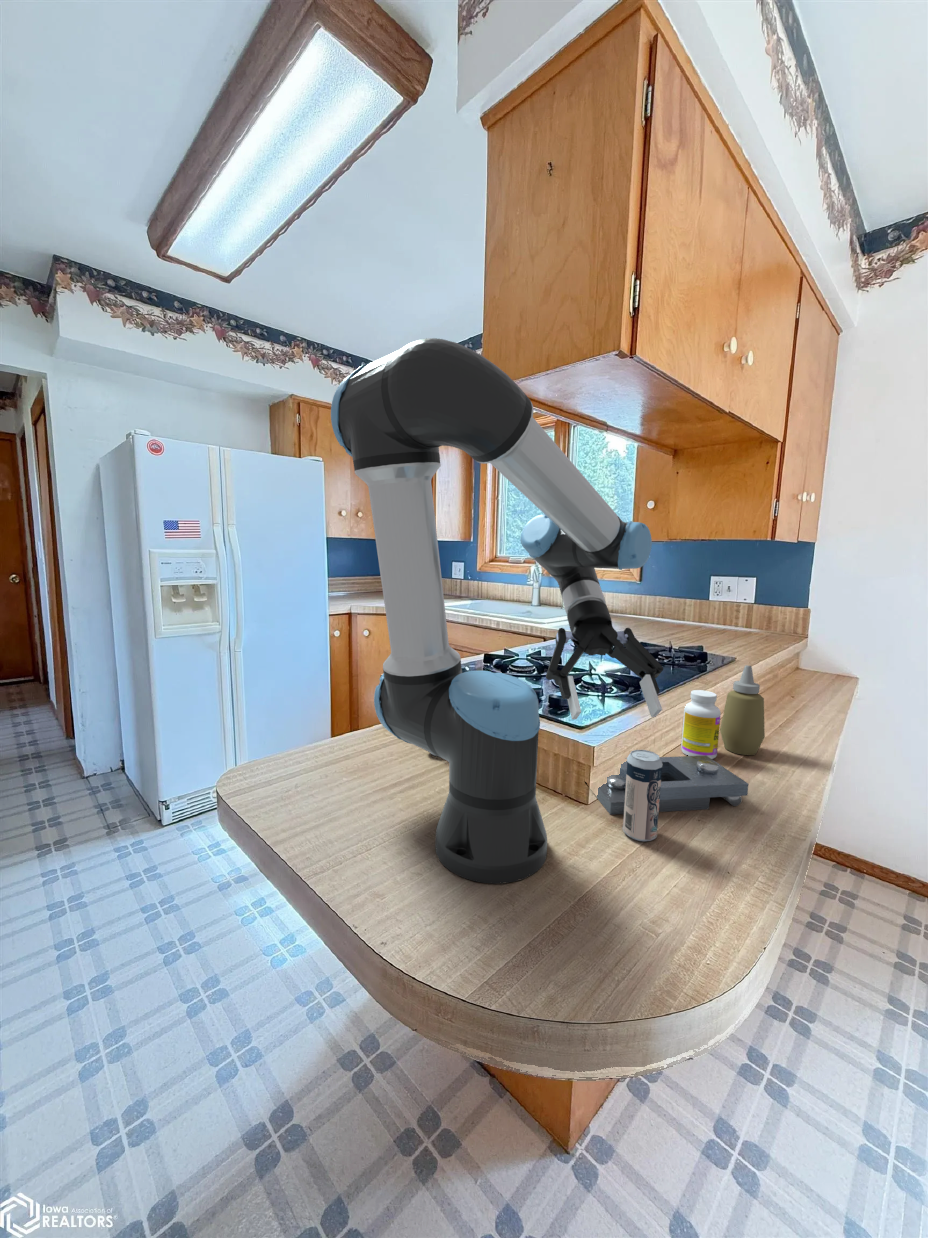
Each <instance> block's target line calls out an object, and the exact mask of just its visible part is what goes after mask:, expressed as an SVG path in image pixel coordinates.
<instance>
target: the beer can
mask: <svg viewBox="0 0 928 1238" xmlns="http://www.w3.org/2000/svg"><path fill="white" fill-rule="evenodd" d="M660 757H661V756H660V754H657V753H656V752H654V751H650V750H647V749H634V750H631V751H630V753H629V754H628V756H627V757H626V759H627V774H626V789H625V805H624V814H623V823H622V831H623V833H624V834H625V835H627V836H628V837H629V838H631V839H632V840H635V841H637V842H638V841H639V842H651V841H653V840H655V839H656V838H657V837H658V825H659V824H658V823H659V813H660V812H659V800H660V787H661V774H662V765H663V764H662V762H661V760H660Z"/></svg>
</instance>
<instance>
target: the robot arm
mask: <svg viewBox="0 0 928 1238" xmlns="http://www.w3.org/2000/svg"><path fill="white" fill-rule="evenodd" d="M330 422H331V428H332V430H333V434H334V436H335V439H336V441H337V442H338V444H339V446H341V447H342V448H343V449H344V450H345V453H347V455H349V456H350V457H352V462H353V469H354V474H355V476H357V477H358V478H359V479H360V480H361V481H362V482H364V484H366V485H367V489H368V495H369V501H370V502H369V503H370V508H371V510H370V511H371V516H372V524H373V530H374V539H375V544H376V545H375V546H376V552H377V558H378V567H379V573H380V575H379V576H380V581H381V587H382V589H381V590H382V595H383V603H384V610H385V616H386V624H387V625H386V626H387V630H388V631H387V632H388V639H389V645H390V654H389V655H388V657H387V658H386V659H385V660H384V662H382V663H383V664H382V670H383V673H382V675H381V676H380V677H379V683H378V685H376V686H375V689H374V695H373V703H374V710H375V715H376V717H377V718H378V721H379V723H380V724H381V725H382V726H383V728H384V729H385V730H387V731H388V732H389V733H390V734H392V735H393V736H394V737H395V738H397V739H398V740H402V741H403V742H404V743H407V744H411V745H414V746H416V747H417V748H419V749H422V750H424V751H427V752H428V753H432V754H434V755H436V756H435V757H439V758H441V759H443V760H445V761H447V762H448V765H449V767H448V768H449V769H448V770H449V771H448V772H449V773H448V775H449V776H448V779H449V780H448V785H449V786H448V794H447V797H446V800H445V802H444V806H443V809H442V811H441V813H440V817H439V820H438V822H437V826H436V828H435V829H436V830H435V842H434V843H435V853H436V856H437V858H438V860H439V861H440V863H441V864H442V865H443V866H444V867H445V868H446V869H447V870H448V871H450V872H451V873H454V875H457V876H459V877H460V878H463V879H466V880H469V881H473V882H476V883H477V882H478V883H482V884H483V883H484V884H507V883H513V882H517V881H521V880H524V879H526V878H528V877H530V876H533V874H535V873H537V872H538V871H539V870H540V869H541V868H542V867H543V865H544V864H545V862H546V859H547V855H548V854H547V853H548V835H547V830H546V827H545V824H544V819H543V816H542V814H541V810H540V806H539V803H538V801H537V797H536V795H537V794H536V793H537V772H538V754H539V753H538V752H539V751H538V750H539V733H540V732H539V731H540V727H541V721H540V715H539V711H540V710H539V699H538V695H537V693H536V691H535V690H534V688H533V687H532V686H531V685H530V684H529V683H527V682H526V681H524V680H522V679H520V678H518V677H516V676H513V675H511V674H507V673H502V672H497V671H496V672H492V671H490V670H489V671H488V670H468V671H465V672H463V669H462V660H461V659H462V658H461V654H460V653H459V652H458V651H457V650H455V649H454V648H452V646H450V642H449V634H448V625H447V616H446V615H447V614H446V605H445V598H444V597H445V596H444V587H443V577H442V570H441V559H440V551H439V543H438V542H439V541H438V533H437V532H438V531H437V521H436V514H435V504H434V493H433V487H432V479H433V477H434V475H435V474H436V473H437V472H438V470H439V469H440V467H441V465H442V464H441V455H440V447H442V446H443V447H451V448H455V449H459V450H461V451H462V452H465V453H466V454H467V455H469V457H471V458H472V459H473V460H474V461H475V462H476V463H479V464H483V465H484V464H485V465H486V464H491V466H492V467H494V468H495V469H496V470H497V471H498V472H499V473H500V474H501V475H502V476H503V477H504V478H506V480H507V481H508V482H510V483H511V484H512V485H513V486H514V487H515V488H516V489H517V490H518V491H519V492H520V493H521V494H522V495H523V496H525V498H527V500H529V501H530V502H531V503H532V504H533V505H534V506H535V507H536V508H537V509H538V510H539V511H541V513H542V514H537V515H535V516H533V517H532V518H530V519H529V520H528V521H527V522H526V523H525V525H524V526H523V528H522V531H521V533H520V536H519V537H520V544H521V546H522V547H523V549H524V550H525V551H526V552H527V553H528V555H529V557H530V558H532V559H533V560H534V561H535V562H536V563H538V564H539V565H540V566H541V567H542V568H543V569H544V570H545V571H546V572H547V573H548V574H549V575H550V576H551V577H552V578H553V579H554V580H555V581H556V582H557V585H558V588H559V591H560V594H561V598H562V603H563V607H564V611H565V614H566V618H567V622H568V626H569V631H567V630H566V629H565V628H564V627H559V628H558V630H557V633H556V635H555V637H554V638H555V648H554V650H553V654H552V657H551V660H550V662H549V665H548V669H547V671H546V674H545V679H546V680H547V681H551V680H553V681H555V684H556V685H557V686H558V687H559V691H560V695H561V698H562V700H564V699H565V700H567V704H568V709H569V712H570V716H571V720H578V718H579V716H580V715H581V713H582V709H581V705H580V700H579V696H578V692H577V689H576V685H575V682H574V681H575V680H574V677H573V675H570V673H571V671H572V670H573V668H574V667H575V666H576V664H577V662H578V661H579V660H580V659H581V657H582V656H583V654H584V653H585V654H586V655H588V656H595V655H598V656H606V655H607V656H609V657H610V658H611V659H616V660H617V661H618V662H619V663H621V664H622V665H623V666H625V668H627V669H628V670H629V671H631V672H632V673H633V674H635V675H636V676H638V677H639V678H640V679H641V680H640V681H639V685H640V688H641V692H642V694H643V697H644V700H645V703H646V706H647V709H648V712H649V715H650V717H651V718H656V717H657V716H658V715H659V714H660V713H661V712H662V711H663V708H662V704H661V701H660V699H659V696H658V695H659V694H660V692H661V691H660V687H659V684H658V682H657V678H658V677H659V675H660V674H662V672H663V671H664V667H663V665H662V664H660V662H659V661H658V660H657V659H656V658H655V657H654V656H653V655H652V654H651V653H650V652H649V650H648V649H647V648H646V647H644V646H643V644H642V643H641V642H640V641H639V640H638V639H637V638H636V636H635V634H634V633H633V630H632V629H631V628H630V627H625V629H624V630H619V631H617V630H616V629H615V628H614V627H613V622H612V617H611V613H610V612H609V608H608V605H607V602H606V599H605V597H604V593H603V590H602V588H601V585H600V581H599V577H598V575H597V573H596V569H612V570H620V571H622V570H630V569H631V570H632V569H633V570H636V569H640V568H642V567H644V565H645V564H646V563H647V562H648V561H649V558H650V555H651V551H652V544H653V543H652V533H651V531H650V529H649V527H648V526H647V524H646V523H643V522H640V521H632V520H629V521H626V522H625V521H623V520H622V519H621V518H620V516H619V515H618V514H617V513H616V512H615V511H614V510H613V509H612V507H611V506H610V505H609V504H608V502H607V501H605V499H604V498H603V497H602V496H601V495H600V493H599V492H598V491H597V490H596V489H595V487H594V486H593V485H592V484H591V483H590V481H589V480H588V479H587V478H586V477H585V476H584V475H583V474H582V473H581V471H580V470H579V469H578V467H576V466H575V464H574V463H573V462H572V461H571V460H570V458H569V457H568V456H567V455H566V454H565V452H564V451H563V450H561V448H560V447H559V445H558V444H557V443H556V442H555V441H554V440H553V438H551V437H550V435H549V434H548V433H547V432H546V431H545V429H544V428H543V427H542V426H541V425H540V423H538V421H537V420H536V419H535V418H534V405H533V403H532V401H531V399H530V398H529V397H528V396H527V394H526V393H525V392H524V391H523V389H522V388H521V387H520V386H519V385H518V384H517V383H516V382H515V381H514V380H513V379H512V378H511V377H510V375H508V374H507V373H506V372H505V371H503V370H502V369H501V368H500V367H499V366H498V365H496V364H494V363H493V362H491V360H489V359H487V358H486V357H485V356H483V355H481V354H479V352H476V351H474V350H473V349H471V348H469V347H466V346H464V345H462V344H459V343H458V342H456V341H455V342H454V341H451V340H446V339H443V338H435V337H433V338H429V337H428V338H427V337H426V338H420V339H418V340H415V341H412V342H409V343H407V344H406V345H404V346H403V347H401V348H399V349H397V350H395V351H394V352H392V353H390V354H387V355H385V356H383V357H381V358H379V359H376V360H374V361H372V362H367V363H365V364H361V366H359V367H358V368H356V369H355V370H354V371H352V372H351V373H350V374H349V375H347V377H345V378H344V379H343V380H342V381H341V382H340V384H339V385H338V386H337V388H336V389H335V392H334V394H333V396H332V400H331V406H330ZM569 640H570V641H571V642H572V643H573V644H574V645H576V646H577V647H576V648H575V650H574V652H573V653H572V655H571V656H570V657H569V658H568V660H567V661H566V663H564V666H563V667H562V668H561V670H560V669H558V667H559V663H560V660H561V658H562V654H563V652H564V648H565V645H566V644H568V643H569ZM613 647H614V649H613ZM432 754H431V755H432ZM434 755H433V756H434Z"/></svg>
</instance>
